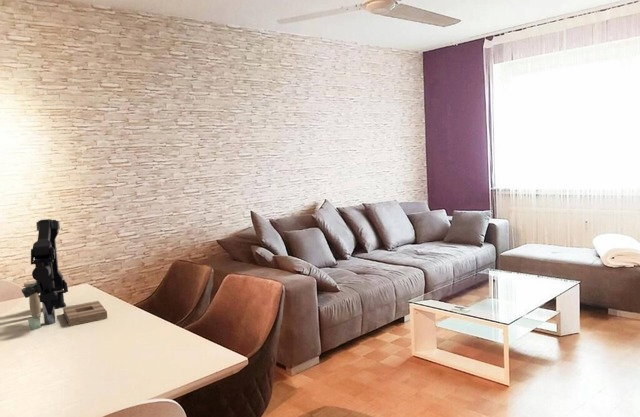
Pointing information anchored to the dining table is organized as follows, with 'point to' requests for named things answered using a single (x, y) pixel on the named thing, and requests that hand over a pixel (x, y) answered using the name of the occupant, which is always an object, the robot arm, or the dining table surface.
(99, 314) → the board
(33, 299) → the handle
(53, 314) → the long pin
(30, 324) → the short pin
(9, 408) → the dining table surface
